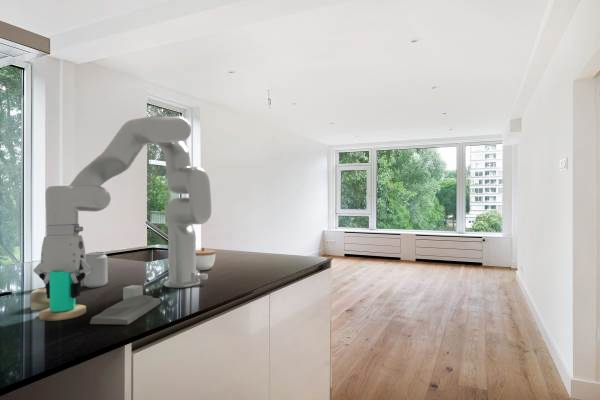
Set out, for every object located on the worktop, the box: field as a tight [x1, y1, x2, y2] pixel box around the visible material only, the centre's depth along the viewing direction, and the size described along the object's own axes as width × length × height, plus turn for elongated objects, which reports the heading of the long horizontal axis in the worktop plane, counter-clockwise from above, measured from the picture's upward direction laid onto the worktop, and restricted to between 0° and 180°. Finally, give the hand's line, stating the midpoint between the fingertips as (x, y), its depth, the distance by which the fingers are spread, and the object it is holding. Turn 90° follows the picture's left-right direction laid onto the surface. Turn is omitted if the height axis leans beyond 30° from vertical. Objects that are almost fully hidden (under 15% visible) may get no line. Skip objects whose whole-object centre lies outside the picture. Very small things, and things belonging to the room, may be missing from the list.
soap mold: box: [89, 294, 162, 326], centre depth 107 cm, size 10×20×4 cm, turn 176°
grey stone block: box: [122, 284, 144, 301], centre depth 121 cm, size 4×4×4 cm
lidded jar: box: [196, 247, 216, 271], centre depth 172 cm, size 11×11×9 cm
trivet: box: [38, 303, 87, 322], centre depth 106 cm, size 11×11×1 cm
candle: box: [49, 271, 76, 312], centre depth 106 cm, size 6×6×12 cm
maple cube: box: [30, 287, 50, 311], centre depth 113 cm, size 5×5×5 cm
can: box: [83, 251, 109, 288], centre depth 140 cm, size 8×8×12 cm
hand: (63, 296), depth 106 cm, fingers open, 5 cm apart
